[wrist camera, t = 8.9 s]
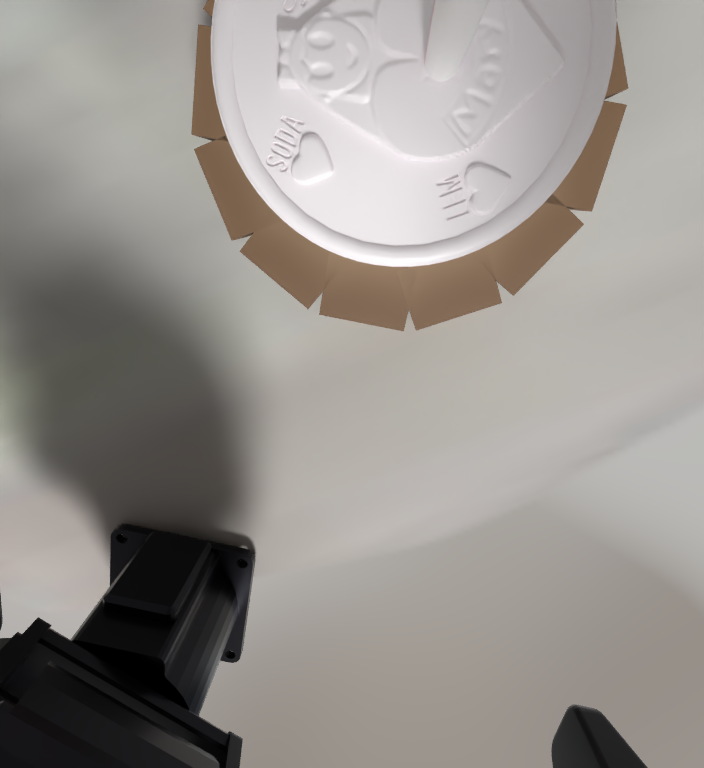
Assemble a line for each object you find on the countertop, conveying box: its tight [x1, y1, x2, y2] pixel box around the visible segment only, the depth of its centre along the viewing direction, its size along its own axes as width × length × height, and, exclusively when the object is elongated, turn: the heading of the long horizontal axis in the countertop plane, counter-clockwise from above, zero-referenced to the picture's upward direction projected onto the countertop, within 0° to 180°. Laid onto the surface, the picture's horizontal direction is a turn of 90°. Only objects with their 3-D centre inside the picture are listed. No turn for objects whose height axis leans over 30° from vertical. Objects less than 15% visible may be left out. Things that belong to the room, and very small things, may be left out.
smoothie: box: [211, 0, 617, 267], centre depth 10 cm, size 6×6×14 cm
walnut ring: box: [192, 0, 628, 331], centre depth 16 cm, size 12×12×2 cm
